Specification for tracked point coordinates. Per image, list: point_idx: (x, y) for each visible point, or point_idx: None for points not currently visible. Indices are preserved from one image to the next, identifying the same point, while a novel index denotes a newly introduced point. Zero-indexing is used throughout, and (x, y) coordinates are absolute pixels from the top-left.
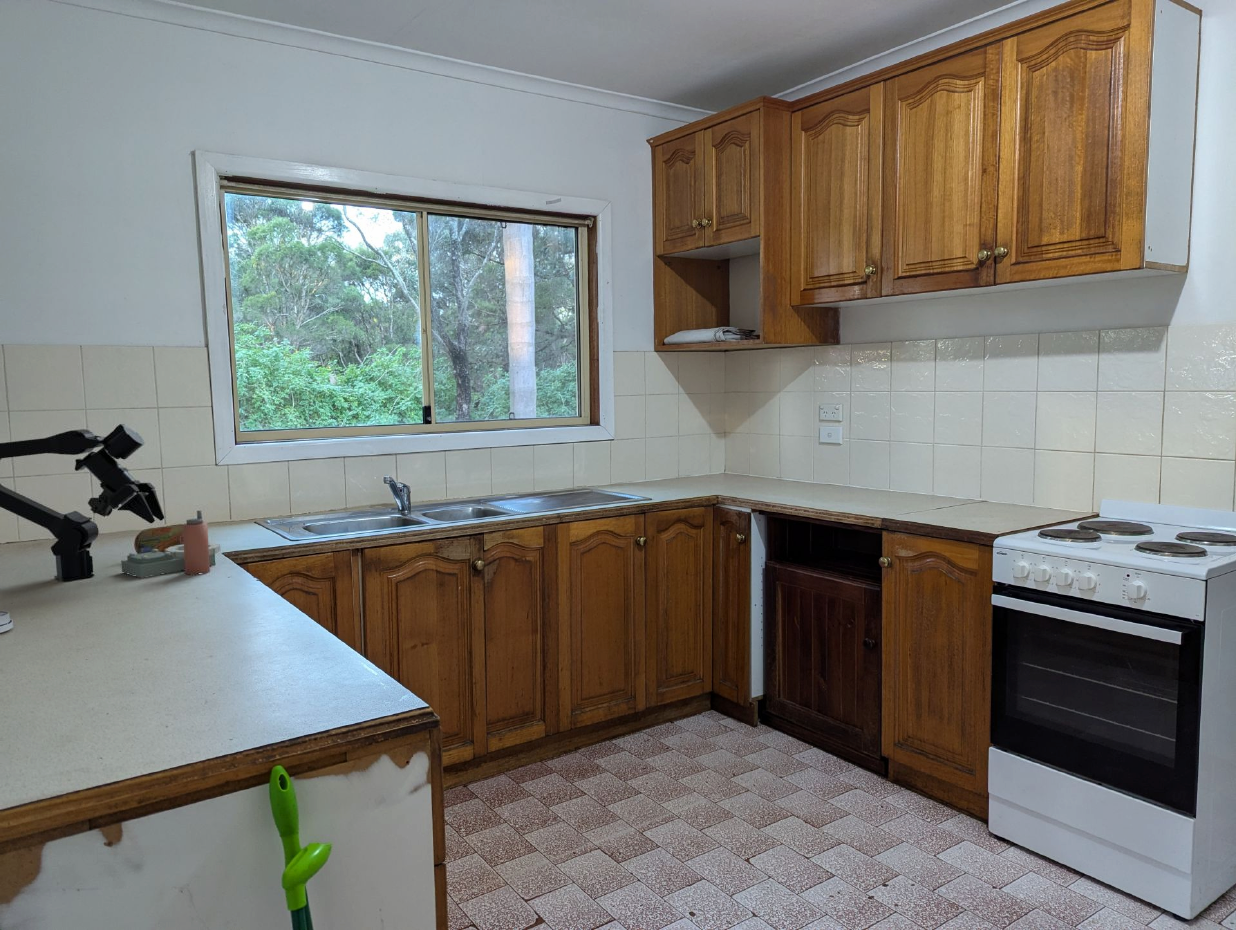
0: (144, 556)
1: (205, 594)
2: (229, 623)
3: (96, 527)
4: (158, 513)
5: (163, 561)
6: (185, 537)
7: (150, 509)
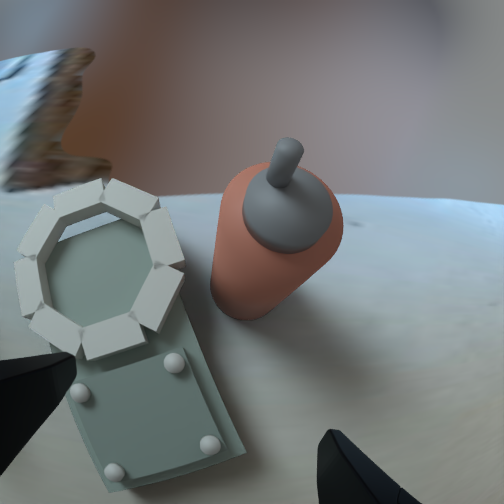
0: (219, 445)
1: (479, 289)
2: None
3: None
4: (50, 387)
5: (205, 379)
6: (299, 285)
7: (16, 434)
